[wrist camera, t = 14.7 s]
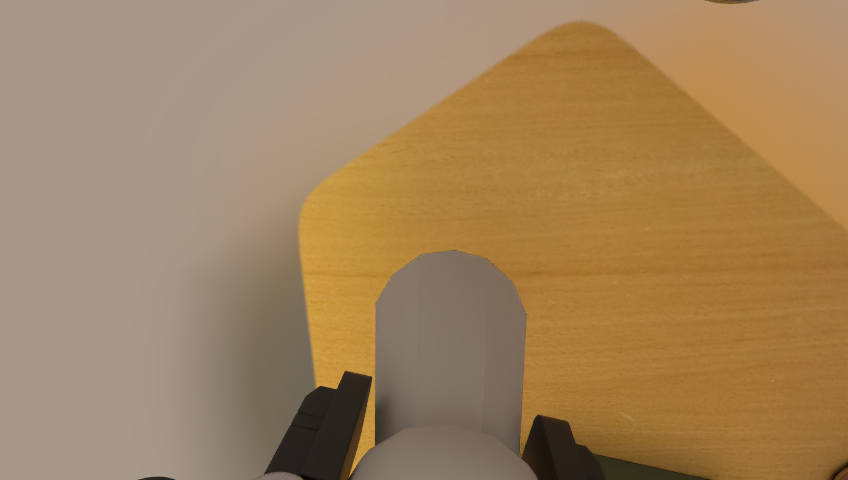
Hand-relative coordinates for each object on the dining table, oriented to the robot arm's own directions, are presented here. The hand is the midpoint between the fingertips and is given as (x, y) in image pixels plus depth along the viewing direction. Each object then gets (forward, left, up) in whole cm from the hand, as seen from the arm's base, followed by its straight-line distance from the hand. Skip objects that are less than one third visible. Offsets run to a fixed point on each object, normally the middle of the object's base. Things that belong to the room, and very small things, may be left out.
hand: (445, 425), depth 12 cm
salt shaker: (0, 0, -8) cm, 8 cm away
